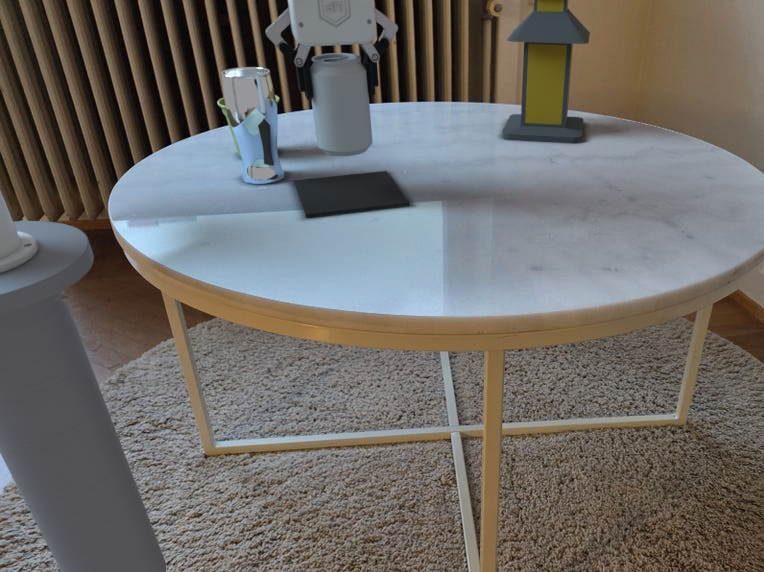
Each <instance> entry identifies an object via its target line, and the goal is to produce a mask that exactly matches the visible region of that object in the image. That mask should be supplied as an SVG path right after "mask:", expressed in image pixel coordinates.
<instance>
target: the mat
mask: <svg viewBox="0 0 764 572" xmlns="http://www.w3.org/2000/svg"><path fill="white" fill-rule="evenodd" d="M293 185H294V187H295V190H296V193H297V196H298V199H299V201H300V204H301V207H302V210H303V213H304V215H305V218H316V217H323V216H334V215H341V214H349V213H359V212H366V211H368V212H369V211H376V210H383V209H393V208H401V207H409V206H410V202H409V200H408V199H407V197H406V196H405V195H404V193H403V192H402V191H401V189H400V187H399V186H398V185H397V183H396V182H395V181H394V179H393V178H392V176H391V175H390V174H389V172H388V171H387V170H381V171H380V170H379V171H373V172H372V171H371V172H361V173H351V174H342V175H341V174H340V175H331V176H322V177H321V176H320V177H312V178H302V179H294V180H293Z"/></svg>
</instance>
